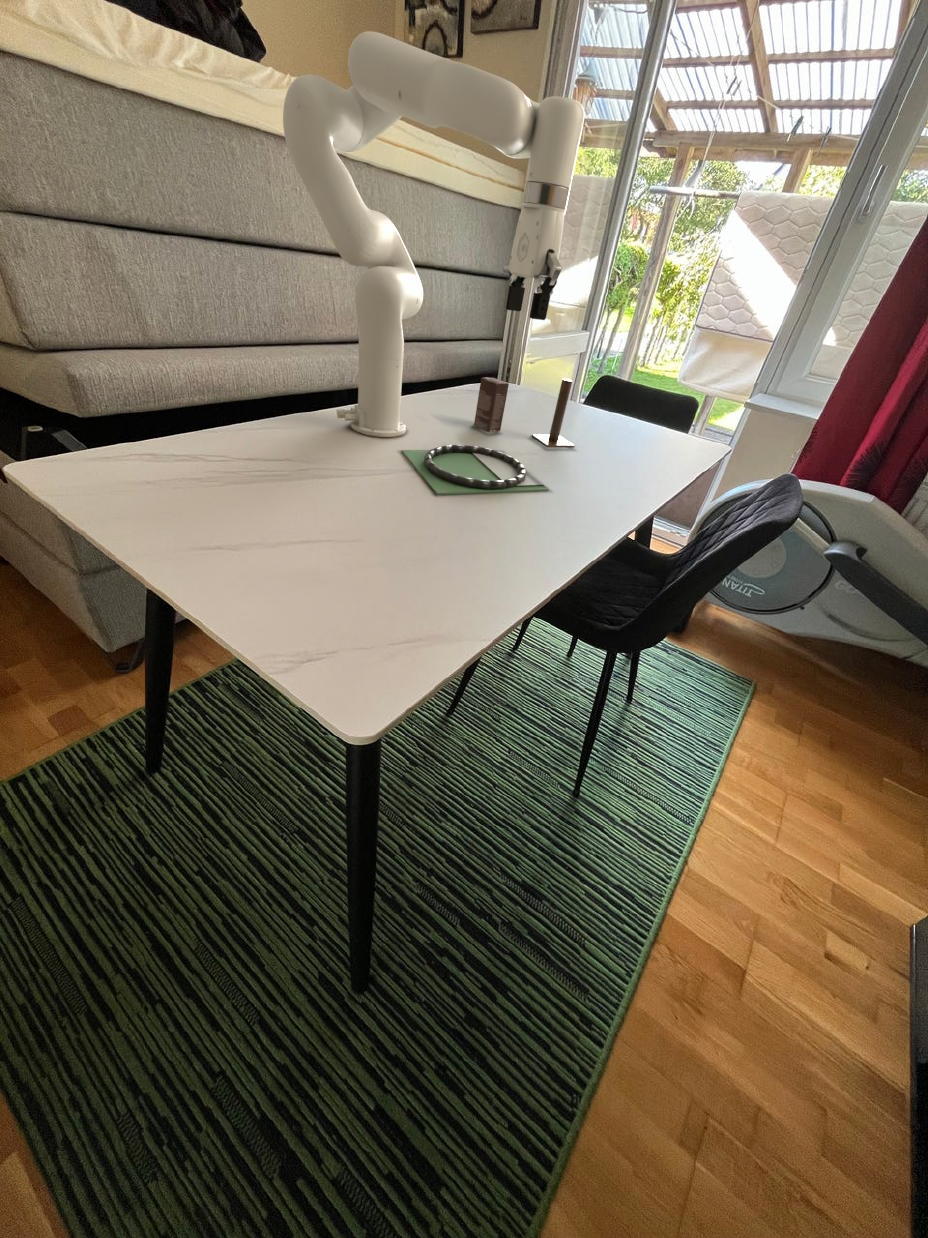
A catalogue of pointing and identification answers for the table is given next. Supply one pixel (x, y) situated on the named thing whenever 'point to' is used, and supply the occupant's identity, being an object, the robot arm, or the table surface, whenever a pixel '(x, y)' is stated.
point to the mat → (460, 473)
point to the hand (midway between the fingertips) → (524, 314)
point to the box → (491, 404)
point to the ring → (473, 482)
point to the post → (557, 420)
